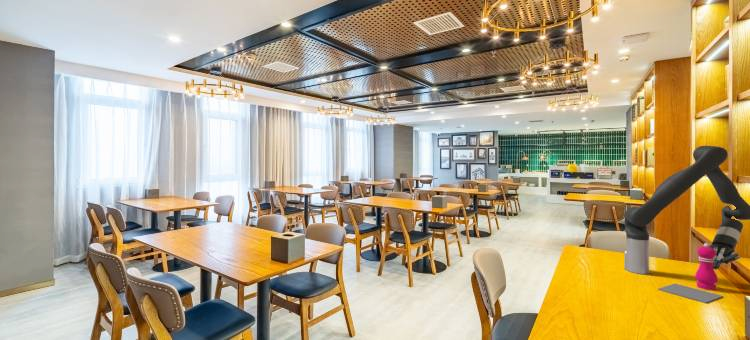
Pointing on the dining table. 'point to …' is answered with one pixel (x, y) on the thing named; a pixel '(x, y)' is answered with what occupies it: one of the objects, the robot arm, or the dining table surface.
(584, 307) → the dining table surface
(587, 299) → the dining table surface
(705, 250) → the pepper mill
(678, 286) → the charcoal mat
